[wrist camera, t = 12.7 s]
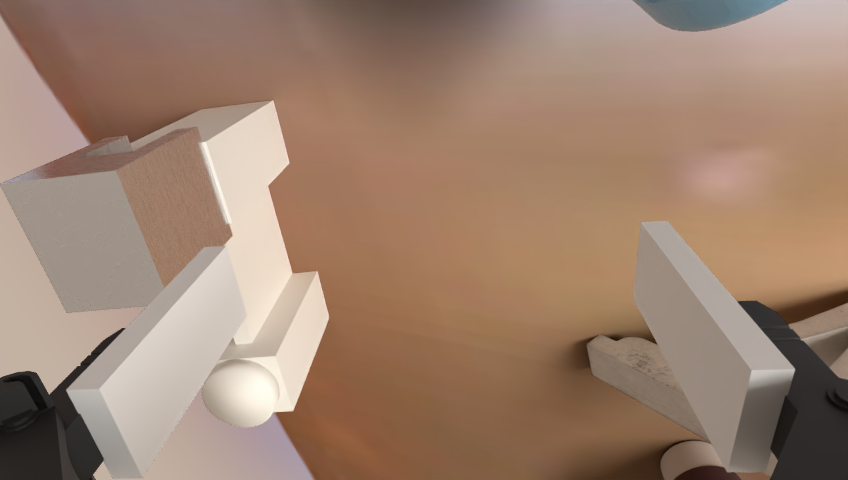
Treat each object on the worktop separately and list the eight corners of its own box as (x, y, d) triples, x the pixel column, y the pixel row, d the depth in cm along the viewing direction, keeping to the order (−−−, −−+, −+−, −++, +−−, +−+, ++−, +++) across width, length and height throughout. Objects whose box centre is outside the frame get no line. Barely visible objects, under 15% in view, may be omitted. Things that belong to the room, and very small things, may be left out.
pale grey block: (106, 137, 35) (-1, 184, 26) (197, 126, 34) (115, 170, 26) (149, 243, 38) (66, 312, 30) (232, 235, 37) (170, 304, 29)
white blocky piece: (201, 109, 48) (69, 172, 31) (273, 100, 47) (176, 159, 31) (269, 322, 58) (196, 452, 42) (329, 317, 57) (278, 447, 41)
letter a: (748, 252, 68) (592, 375, 57) (747, 224, 67) (586, 344, 55) (982, 309, 50) (820, 505, 39) (990, 271, 48) (822, 466, 37)
